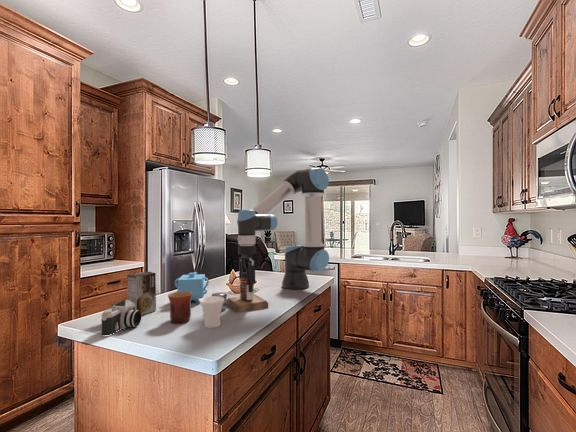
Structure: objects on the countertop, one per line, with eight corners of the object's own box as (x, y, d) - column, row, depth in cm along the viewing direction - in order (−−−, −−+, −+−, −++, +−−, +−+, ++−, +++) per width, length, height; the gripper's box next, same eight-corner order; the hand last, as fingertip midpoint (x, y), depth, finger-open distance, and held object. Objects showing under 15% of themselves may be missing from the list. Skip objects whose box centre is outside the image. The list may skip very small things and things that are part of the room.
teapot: (207, 303, 142) (207, 274, 142) (171, 304, 140) (171, 275, 140) (211, 293, 160) (211, 268, 160) (179, 294, 158) (179, 269, 158)
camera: (122, 338, 102) (121, 307, 102) (96, 337, 102) (96, 307, 102) (146, 321, 118) (146, 295, 118) (124, 321, 118) (124, 295, 118)
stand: (255, 300, 146) (255, 294, 146) (268, 308, 134) (268, 301, 134) (226, 304, 140) (226, 297, 140) (237, 313, 127) (237, 305, 127)
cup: (202, 321, 117) (202, 295, 117) (227, 322, 117) (227, 295, 117) (194, 330, 108) (194, 301, 108) (221, 330, 108) (221, 301, 108)
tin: (224, 306, 136) (224, 291, 136) (229, 310, 131) (229, 295, 131) (209, 309, 133) (209, 293, 133) (214, 313, 128) (213, 296, 128)
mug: (193, 323, 115) (193, 295, 115) (168, 326, 112) (168, 298, 112) (190, 314, 126) (190, 288, 126) (167, 316, 123) (167, 290, 123)
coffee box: (146, 308, 134) (146, 271, 134) (156, 310, 131) (156, 272, 131) (126, 314, 126) (126, 274, 126) (136, 317, 123) (136, 276, 123)
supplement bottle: (239, 300, 134) (238, 273, 134) (240, 296, 140) (240, 271, 140) (253, 300, 134) (252, 273, 134) (254, 296, 140) (254, 271, 140)
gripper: (231, 243, 143) (231, 294, 143) (246, 247, 127) (246, 304, 127) (246, 242, 147) (247, 292, 147) (263, 246, 130) (263, 301, 131)
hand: (247, 297), depth 137 cm, fingers closed on supplement bottle, 6 cm apart
